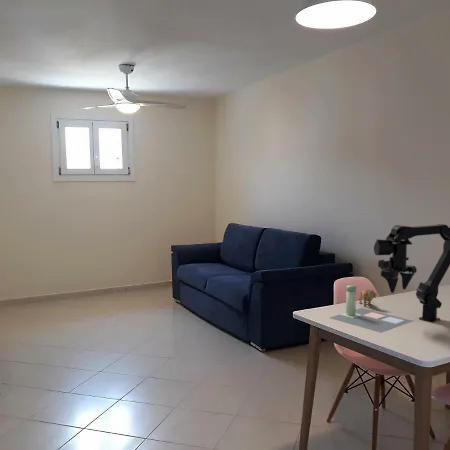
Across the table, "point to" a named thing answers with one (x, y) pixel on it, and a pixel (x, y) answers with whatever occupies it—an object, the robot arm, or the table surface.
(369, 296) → the lion figurine
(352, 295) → the pale green cylinder
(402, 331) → the table surface
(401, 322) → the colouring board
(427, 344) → the table surface
